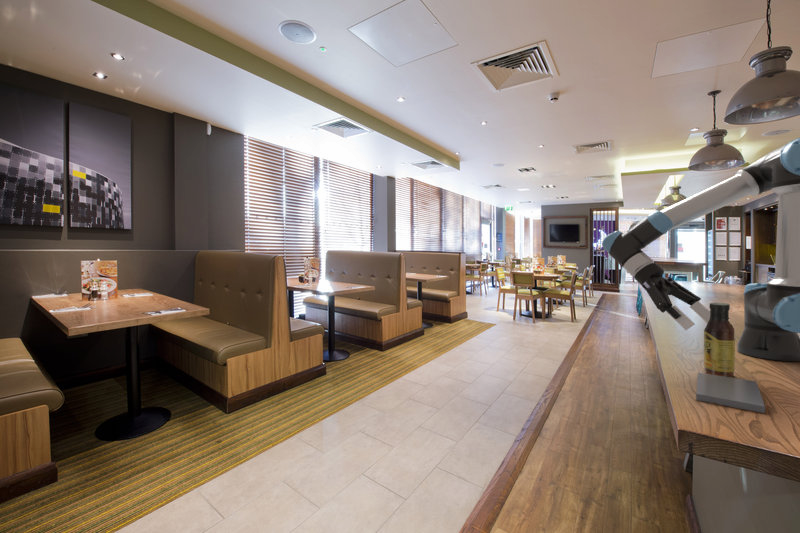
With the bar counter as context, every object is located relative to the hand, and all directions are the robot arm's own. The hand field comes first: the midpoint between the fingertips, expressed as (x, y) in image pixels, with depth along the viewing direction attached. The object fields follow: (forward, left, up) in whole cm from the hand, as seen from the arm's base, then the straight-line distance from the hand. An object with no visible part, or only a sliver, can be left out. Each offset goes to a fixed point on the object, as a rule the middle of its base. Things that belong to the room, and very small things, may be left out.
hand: (702, 324), depth 97 cm
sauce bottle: (-3, +2, -14) cm, 14 cm away
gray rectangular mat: (+3, +16, -14) cm, 21 cm away
